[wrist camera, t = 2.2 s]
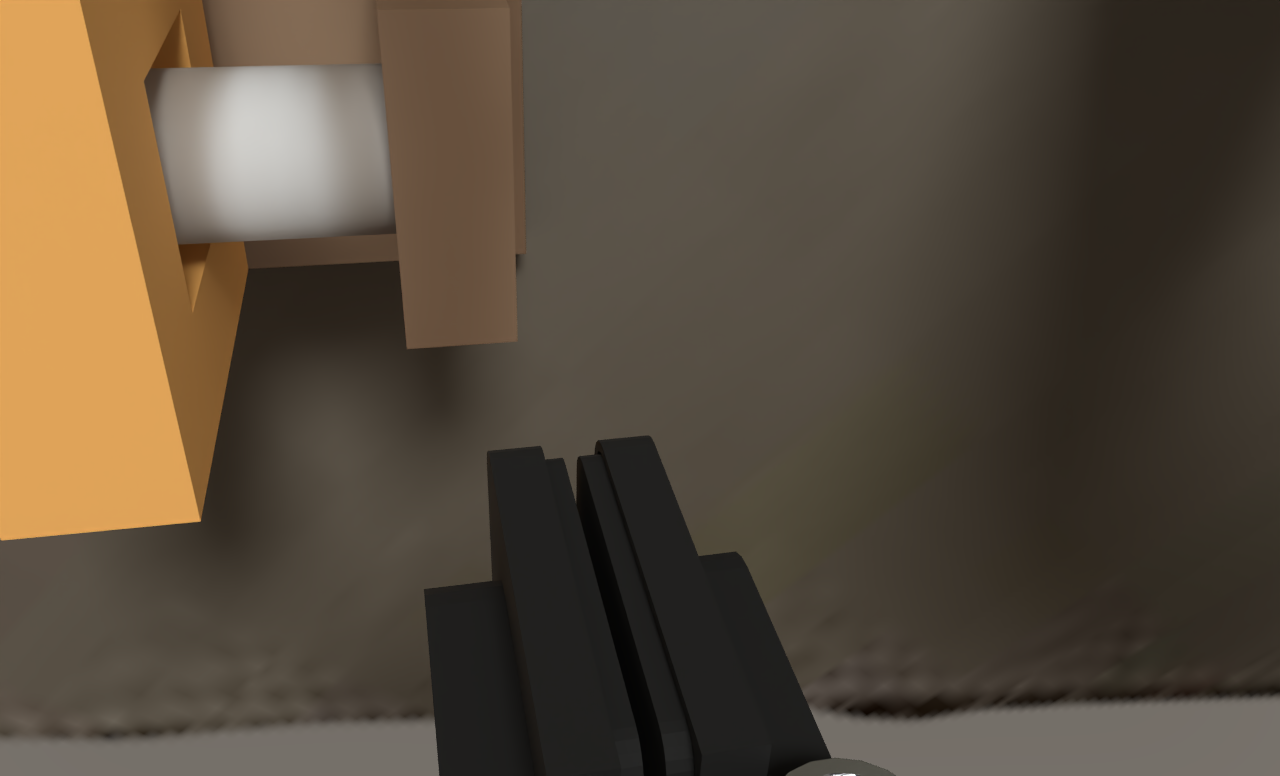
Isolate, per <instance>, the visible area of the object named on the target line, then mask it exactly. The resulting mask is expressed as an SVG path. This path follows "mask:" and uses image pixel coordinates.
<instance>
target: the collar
mask: <svg viewBox="0 0 1280 776" xmlns="http://www.w3.org/2000/svg"><path fill="white" fill-rule="evenodd" d="M191 67H213V61H212V56H211V50H210V44H209V38H208V32H207V27H206V21H205V15H204V9H203V4H202V0H0V538H1V540H11V539H22V538H32V537H43V536H53V535H64V534H74V533H85V532H95V531H106V530H116V529H127V528H137V527H148V526H158V525H169V524H179V523H190V522H200V521H201V517H202V512H203V506H204V501H205V496H206V490H207V485H208V480H209V475H210V469H211V464H212V459H213V453H214V448H215V443H216V438H217V432H218V427H219V422H220V416H221V411H222V406H223V401H224V395H225V390H226V385H227V379H228V374H229V369H230V364H231V358H232V353H233V348H234V342H235V337H236V332H237V327H238V321H239V316H240V311H241V305H242V300H243V295H244V290H245V284H246V279H247V274H248V264H247V258H246V252H245V247H244V241H240V242H220V243H200V244H180V245H178V242H177V238H176V233H175V228H174V223H173V218H172V214H171V209H170V204H169V199H168V195H167V190H166V185H165V180H164V175H163V171H162V166H161V161H160V156H159V152H158V147H157V142H156V137H155V132H154V128H153V123H152V118H151V113H150V108H149V104H148V99H147V94H146V89H145V85H144V80H145V78H146V76H147V74H148V72H149V70H150V68H191Z"/></svg>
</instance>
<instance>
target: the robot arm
mask: <svg viewBox="0 0 1280 776" xmlns="http://www.w3.org/2000/svg"><path fill="white" fill-rule="evenodd" d="M487 473H488V495H489V517H490V539H491V561H492V581H489V582H481V583H472V584H464V585H456V586H448V587H439V588H431V589H424V594H425V607H426V619H427V631H428V643H429V655H430V667H431V679H432V691H433V703H434V715H435V727H436V739H437V751H438V764H439V775H440V776H896V775H894V774H893V773H891V772H890V771H888V770H886V769H883V768H880V767H877V766H875V765H872V764H869V763H867V762H864V761H860V760H850V759H841V758H831V756H830V754H829V751H828V749H827V747H826V745H825V743H824V740H823V738H822V736H821V733H820V731H819V729H818V727H817V724H816V722H815V720H814V717H813V715H812V713H811V710H810V708H809V706H808V704H807V701H806V699H805V697H804V695H803V692H802V690H801V688H800V686H799V683H798V681H797V679H796V676H795V674H794V672H793V670H792V667H791V665H790V663H789V661H788V658H787V656H786V654H785V651H784V649H783V647H782V645H781V642H780V640H779V638H778V636H777V633H776V631H775V629H774V626H773V624H772V622H771V620H770V617H769V615H768V613H767V611H766V608H765V606H764V604H763V601H762V599H761V597H760V595H759V592H758V590H757V588H756V586H755V583H754V581H753V579H752V576H751V574H750V572H749V570H748V567H747V566H746V564H745V562H744V560H743V558H742V557H741V556H740V555H739V554H738V553H737V552H729V553H721V554H713V555H705V556H698V554H697V551H696V549H695V546H694V543H693V541H692V538H691V536H690V533H689V531H688V528H687V526H686V523H685V520H684V518H683V515H682V513H681V510H680V508H679V505H678V503H677V500H676V497H675V495H674V492H673V490H672V487H671V485H670V482H669V480H668V477H667V474H666V472H665V469H664V467H663V464H662V462H661V459H660V457H659V454H658V451H657V449H656V446H655V444H654V442H653V440H652V438H651V437H650V436H638V437H628V438H618V439H607V440H598V441H597V442H596V446H595V455H587V456H579V457H578V460H577V496H576V502H575V498H574V495H573V491H572V487H571V484H570V480H569V476H568V473H567V469H566V465H565V462H564V459H563V458H557V459H547V460H545V457H544V453H543V450H542V448H541V446H535V447H525V448H515V449H504V450H494V451H488V452H487Z"/></svg>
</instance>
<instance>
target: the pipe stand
mask: <svg viewBox="0 0 1280 776" xmlns="http://www.w3.org/2000/svg"><path fill="white" fill-rule="evenodd" d="M202 4H203V9H204V15H205V21H206V27H207V32H208V38H209V44H210V50H211V56H212V61H213V67H191V68H150V70H149V72H148V74H147V76H146V78H145V80H144V85H145V89H146V94H147V99H148V104H149V108H150V113H151V118H152V123H153V128H154V132H155V137H156V142H157V147H158V152H159V156H160V161H161V166H162V171H163V175H164V180H165V185H166V190H167V195H168V199H169V204H170V209H171V214H172V218H173V223H174V228H175V233H176V238H177V242H178V245H180V244H200V243H220V242H240V241H244V247H245V252H246V258H247V264H248V269H255V268H274V267H292V266H310V265H328V264H347V263H365V262H383V261H399V266H400V277H401V288H402V300H403V311H404V322H405V334H406V345H407V349H416V348H430V347H445V346H459V345H473V344H488V343H502V342H516V341H518V340H517V298H516V256H515V254H526V225H525V170H524V115H523V60H522V5H521V0H202Z"/></svg>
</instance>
